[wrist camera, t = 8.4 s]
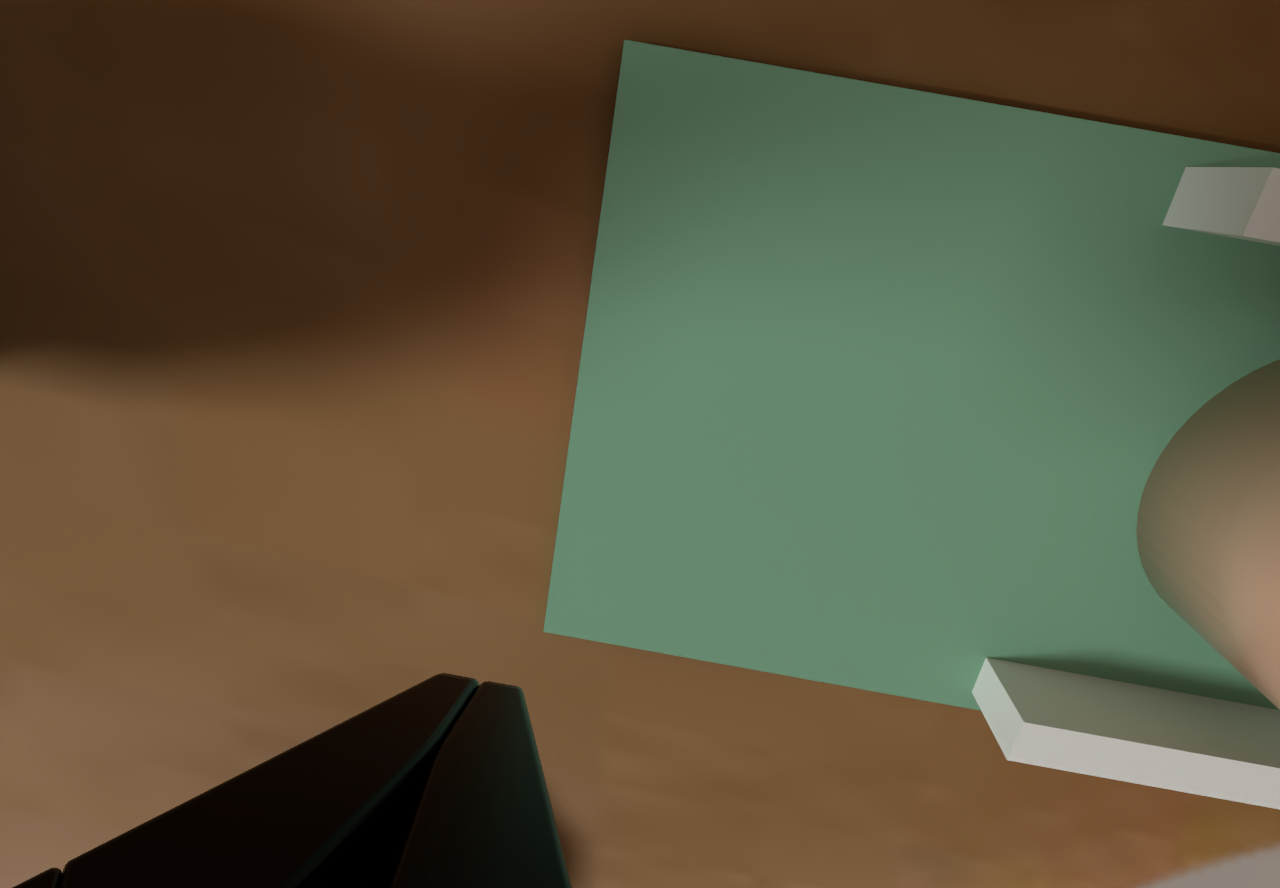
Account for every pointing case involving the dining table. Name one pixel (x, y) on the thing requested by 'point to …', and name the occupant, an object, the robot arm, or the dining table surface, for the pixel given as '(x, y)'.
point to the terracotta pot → (1222, 526)
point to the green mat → (890, 382)
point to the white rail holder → (1135, 714)
